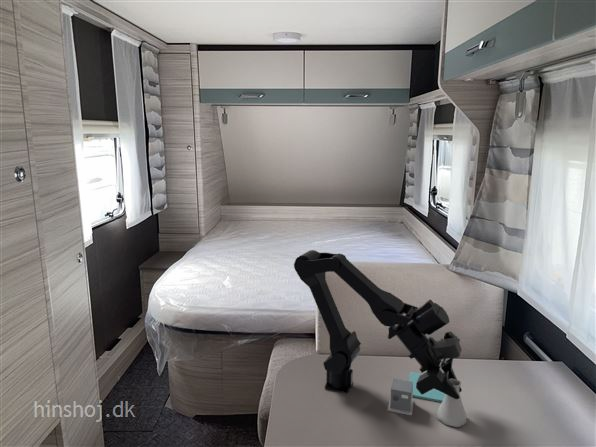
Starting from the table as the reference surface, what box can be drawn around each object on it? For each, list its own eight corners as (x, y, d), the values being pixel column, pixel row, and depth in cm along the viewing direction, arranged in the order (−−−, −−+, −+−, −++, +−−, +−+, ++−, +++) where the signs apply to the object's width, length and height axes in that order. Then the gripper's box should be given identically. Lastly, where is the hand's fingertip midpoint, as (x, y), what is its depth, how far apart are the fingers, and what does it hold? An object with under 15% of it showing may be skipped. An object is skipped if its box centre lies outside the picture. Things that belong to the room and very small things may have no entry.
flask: (471, 416, 110) (474, 381, 108) (460, 432, 105) (463, 394, 103) (443, 405, 115) (445, 370, 113) (431, 419, 110) (433, 383, 107)
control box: (387, 410, 113) (388, 389, 112) (390, 397, 119) (391, 377, 117) (411, 415, 111) (413, 394, 110) (413, 401, 117) (415, 381, 115)
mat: (406, 395, 119) (406, 393, 119) (409, 374, 129) (410, 372, 129) (449, 403, 116) (449, 401, 116) (449, 380, 126) (449, 379, 126)
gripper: (434, 343, 98) (482, 402, 96) (449, 312, 115) (490, 361, 112) (397, 366, 104) (442, 422, 101) (416, 333, 120) (455, 381, 117)
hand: (459, 394), depth 108 cm, fingers closed on flask, 3 cm apart
